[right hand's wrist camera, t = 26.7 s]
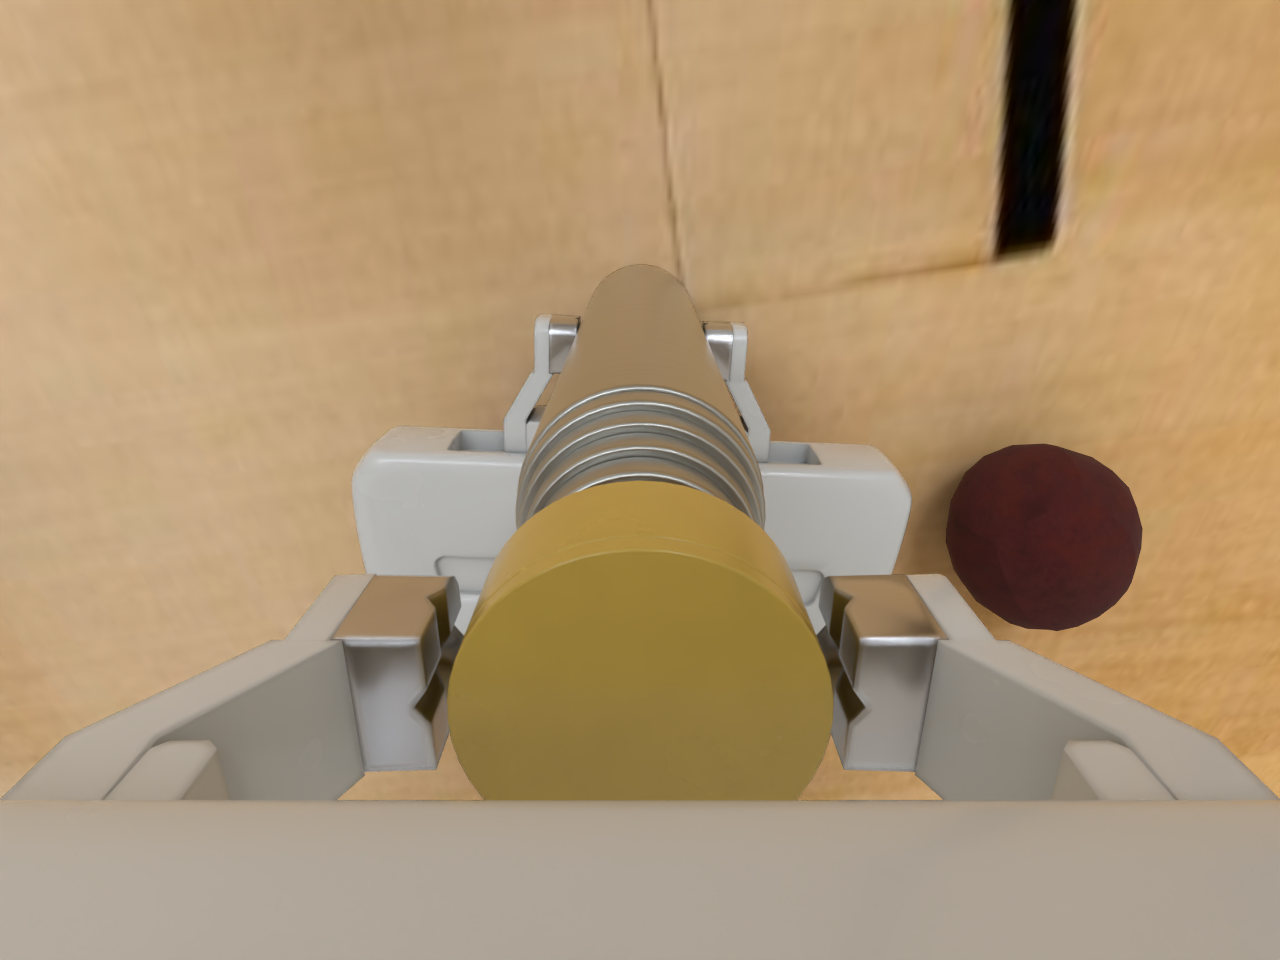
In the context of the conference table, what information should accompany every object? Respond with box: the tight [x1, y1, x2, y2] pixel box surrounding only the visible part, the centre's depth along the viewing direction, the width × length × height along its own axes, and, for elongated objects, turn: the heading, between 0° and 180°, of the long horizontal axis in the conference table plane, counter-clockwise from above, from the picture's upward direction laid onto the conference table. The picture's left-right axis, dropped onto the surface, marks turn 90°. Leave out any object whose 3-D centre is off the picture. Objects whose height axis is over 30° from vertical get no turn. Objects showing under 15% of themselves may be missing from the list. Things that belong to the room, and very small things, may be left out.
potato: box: [946, 444, 1142, 631], centre depth 31 cm, size 7×8×7 cm
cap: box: [447, 481, 834, 800], centre depth 9 cm, size 4×4×2 cm
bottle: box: [515, 264, 766, 530], centre depth 20 cm, size 4×4×25 cm
